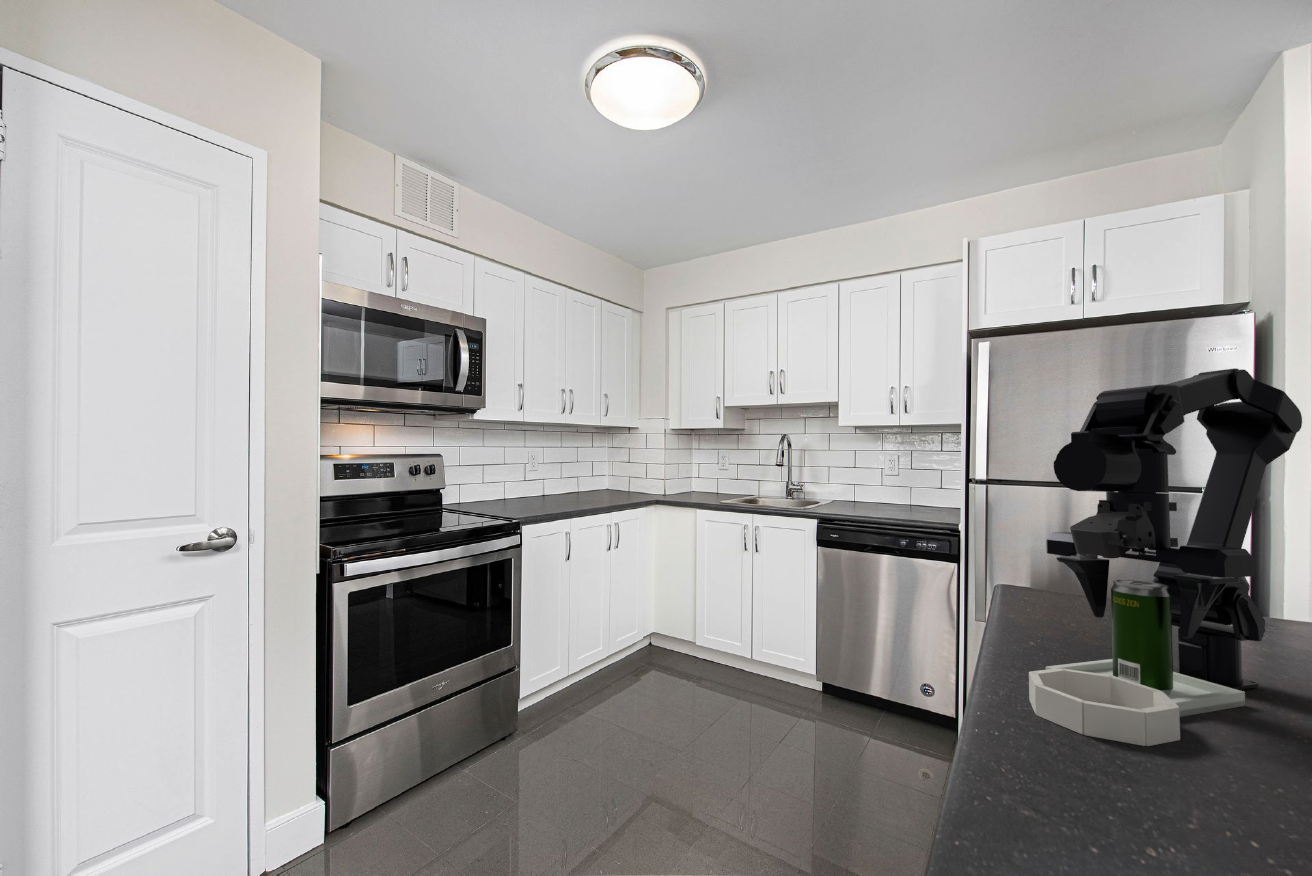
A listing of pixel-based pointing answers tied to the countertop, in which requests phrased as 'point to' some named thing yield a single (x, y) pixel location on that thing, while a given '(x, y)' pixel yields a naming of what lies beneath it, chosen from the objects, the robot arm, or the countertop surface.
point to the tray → (1178, 689)
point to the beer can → (1142, 633)
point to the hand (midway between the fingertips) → (1140, 626)
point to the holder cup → (1104, 706)
